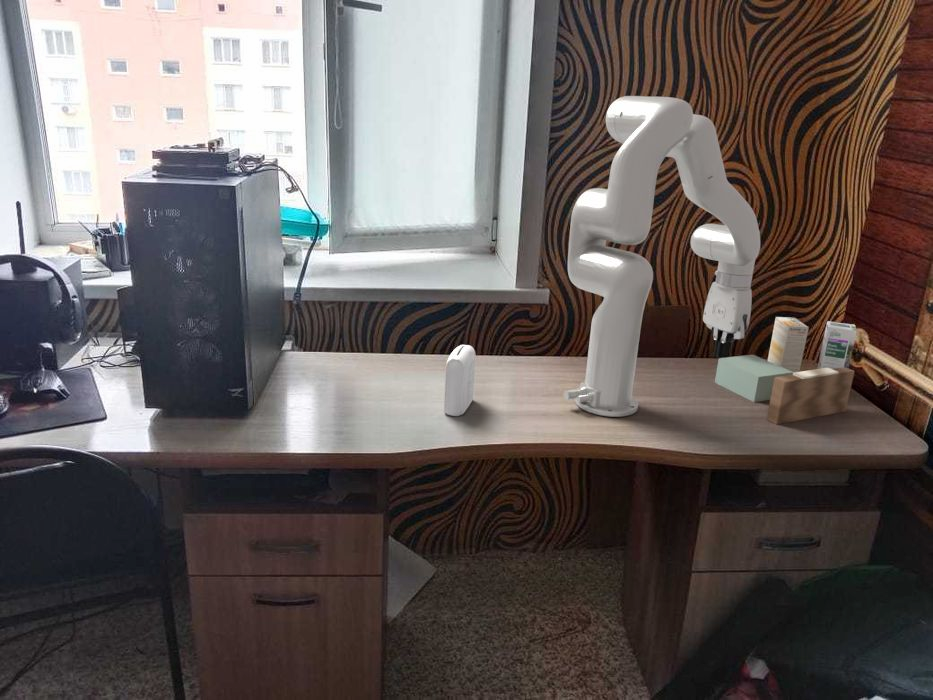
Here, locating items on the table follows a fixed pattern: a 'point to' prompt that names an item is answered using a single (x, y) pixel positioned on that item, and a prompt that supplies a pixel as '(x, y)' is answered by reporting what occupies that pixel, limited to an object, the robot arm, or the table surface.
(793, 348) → the supplement box
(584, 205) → the robot arm
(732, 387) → the sage block
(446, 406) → the photo printer
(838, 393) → the board
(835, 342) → the syrup box
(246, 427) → the table surface
